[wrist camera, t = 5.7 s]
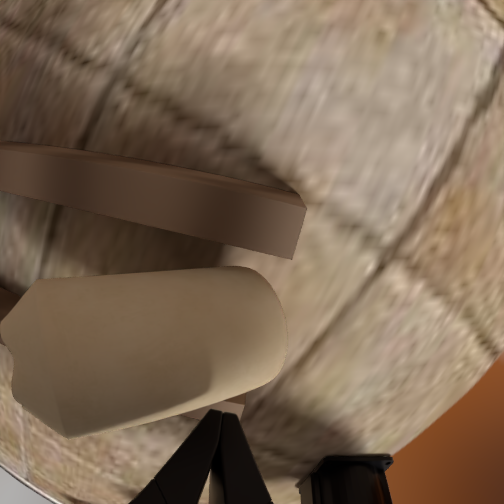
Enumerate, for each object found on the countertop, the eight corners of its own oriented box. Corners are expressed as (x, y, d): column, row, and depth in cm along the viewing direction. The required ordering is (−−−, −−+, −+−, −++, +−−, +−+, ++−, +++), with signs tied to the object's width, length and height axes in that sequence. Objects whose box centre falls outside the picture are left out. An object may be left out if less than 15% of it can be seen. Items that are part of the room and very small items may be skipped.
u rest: (299, 194, 14) (307, 208, 11) (241, 390, 18) (237, 427, 15) (-22, 138, 13) (-55, 144, 10) (-14, 301, 17) (-38, 320, 15)
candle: (221, 247, 15) (0, 257, 9) (305, 297, 11) (-14, 343, 5) (206, 344, 17) (20, 374, 10) (272, 408, 13) (40, 475, 6)
